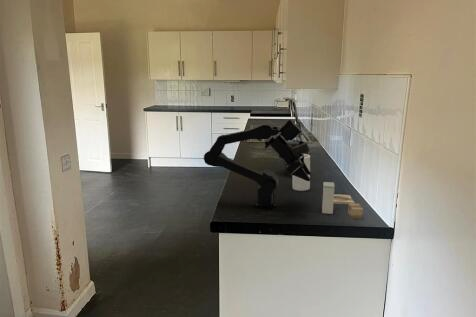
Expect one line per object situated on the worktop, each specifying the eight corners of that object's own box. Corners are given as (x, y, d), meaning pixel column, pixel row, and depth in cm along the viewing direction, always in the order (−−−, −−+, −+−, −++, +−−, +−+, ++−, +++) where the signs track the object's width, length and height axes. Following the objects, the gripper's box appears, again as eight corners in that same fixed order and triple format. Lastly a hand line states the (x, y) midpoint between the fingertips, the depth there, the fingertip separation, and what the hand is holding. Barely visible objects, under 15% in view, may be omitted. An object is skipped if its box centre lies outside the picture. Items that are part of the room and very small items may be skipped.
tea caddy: (322, 213, 140) (323, 186, 137) (321, 208, 145) (323, 181, 143) (332, 213, 139) (334, 186, 136) (332, 208, 144) (334, 182, 142)
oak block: (362, 219, 134) (363, 209, 133) (351, 219, 134) (352, 209, 134) (358, 213, 140) (359, 203, 139) (348, 213, 140) (348, 203, 139)
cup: (298, 184, 176) (298, 153, 173) (313, 187, 171) (313, 155, 167) (289, 188, 170) (289, 156, 167) (304, 191, 165) (304, 158, 161)
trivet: (354, 204, 149) (354, 202, 149) (330, 203, 150) (330, 201, 150) (349, 196, 159) (349, 194, 159) (326, 196, 160) (326, 194, 160)
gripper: (296, 139, 129) (325, 170, 129) (299, 131, 147) (324, 159, 147) (274, 159, 133) (302, 189, 133) (279, 149, 150) (304, 176, 151)
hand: (309, 177), depth 141 cm, fingers open, 9 cm apart
